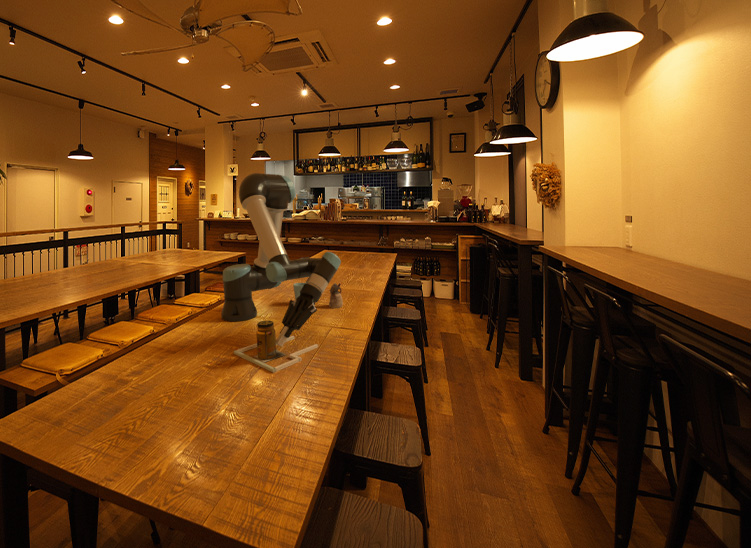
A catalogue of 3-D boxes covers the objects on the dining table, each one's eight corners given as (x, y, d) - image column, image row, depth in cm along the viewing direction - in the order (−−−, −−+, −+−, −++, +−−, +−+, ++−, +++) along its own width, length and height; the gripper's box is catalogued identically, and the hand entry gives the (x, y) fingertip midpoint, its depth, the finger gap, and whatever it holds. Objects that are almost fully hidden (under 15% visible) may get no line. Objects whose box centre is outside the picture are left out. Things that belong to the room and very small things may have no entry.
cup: (310, 304, 180) (310, 285, 178) (295, 306, 177) (294, 286, 175) (307, 301, 187) (306, 282, 185) (292, 302, 184) (291, 283, 182)
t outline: (233, 353, 120) (233, 351, 119) (286, 335, 137) (286, 333, 137) (273, 372, 106) (273, 369, 106) (325, 350, 123) (325, 347, 123)
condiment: (252, 356, 118) (250, 322, 115) (274, 349, 124) (273, 316, 122) (264, 363, 113) (262, 327, 111) (286, 355, 119) (285, 321, 117)
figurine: (329, 304, 181) (328, 281, 179) (343, 304, 181) (342, 281, 179) (328, 308, 174) (328, 284, 172) (342, 308, 174) (342, 284, 172)
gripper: (331, 297, 129) (297, 354, 119) (307, 291, 137) (273, 344, 127) (320, 285, 124) (283, 344, 114) (296, 280, 131) (260, 335, 122)
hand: (278, 344), depth 120 cm, fingers closed
